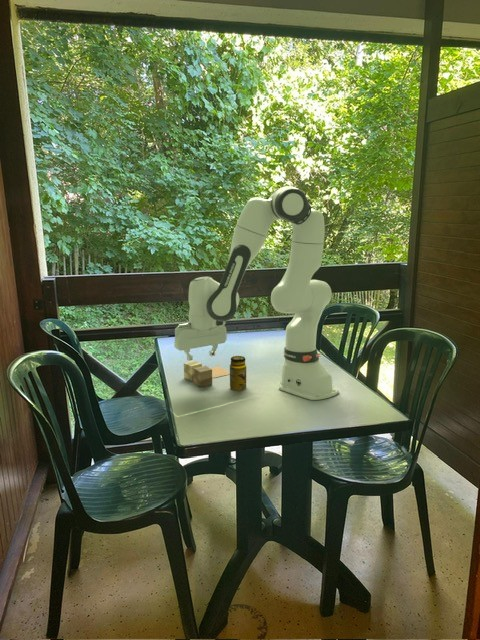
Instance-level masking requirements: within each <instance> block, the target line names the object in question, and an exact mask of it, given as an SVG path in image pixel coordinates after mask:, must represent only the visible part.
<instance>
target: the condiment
mask: <svg viewBox="0 0 480 640" xmlns="http://www.w3.org/2000/svg"><path fill="white" fill-rule="evenodd" d="M229 372H230V375H229V387H230V390H232V391H237V392H238V391H239V392H240V391H243V390H244V391H245V390H246V388H247V364H246V357H245V356H243V355H235V356H234V355H233V356H231V357H230V364H229Z"/></svg>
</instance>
